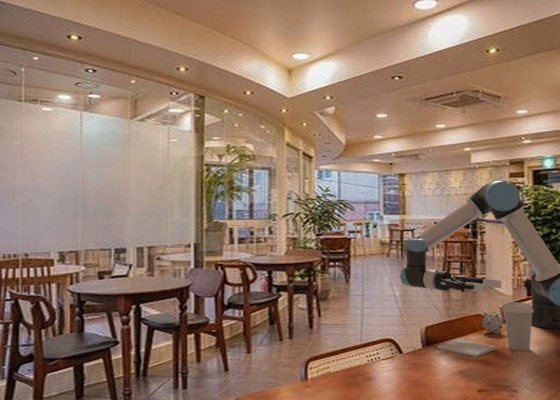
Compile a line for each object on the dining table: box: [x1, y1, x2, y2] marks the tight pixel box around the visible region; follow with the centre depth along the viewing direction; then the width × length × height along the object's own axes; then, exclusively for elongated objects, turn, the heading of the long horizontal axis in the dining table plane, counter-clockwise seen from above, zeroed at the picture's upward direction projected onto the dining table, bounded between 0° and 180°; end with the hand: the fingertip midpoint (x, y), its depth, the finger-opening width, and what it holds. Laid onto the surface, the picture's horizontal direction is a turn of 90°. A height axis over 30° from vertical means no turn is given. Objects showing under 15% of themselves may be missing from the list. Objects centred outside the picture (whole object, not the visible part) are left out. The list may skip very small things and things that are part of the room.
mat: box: [436, 338, 497, 358], centre depth 167 cm, size 14×14×1 cm
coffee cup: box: [502, 301, 534, 352], centre depth 167 cm, size 10×10×15 cm
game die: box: [478, 311, 506, 335], centre depth 188 cm, size 9×8×10 cm
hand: (492, 286), depth 174 cm, fingers open, 13 cm apart
